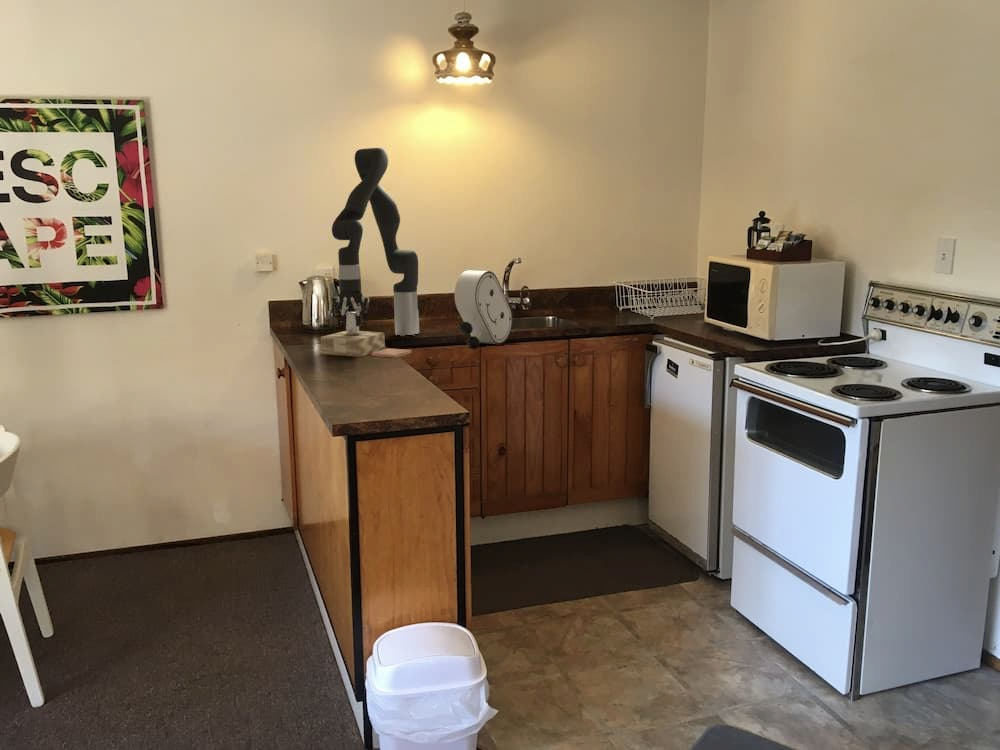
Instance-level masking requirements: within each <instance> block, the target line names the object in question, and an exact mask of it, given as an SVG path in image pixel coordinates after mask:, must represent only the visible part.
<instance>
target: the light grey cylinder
mask: <svg viewBox="0 0 1000 750" xmlns="http://www.w3.org/2000/svg"><path fill="white" fill-rule="evenodd" d="M345 314H346V326H345V329H346V330H345V331H346V332H347V336H358V335H359V331H360V326H357V317H356V316H357V314H356V311H347V312H346V313H345Z"/></svg>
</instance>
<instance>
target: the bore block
mask: <svg viewBox="0 0 1000 750" xmlns="http://www.w3.org/2000/svg"><path fill="white" fill-rule="evenodd" d="M385 340H386V339H385V332H382V331H381V332H379V331H378V332H377V331H363V330H359V335H358V336H347V332H346V330H343V331H339V332H335V333H332V334H327V335H323V336H320V348H321V354H322V355H330V356H331V355H332V356H343V357H344V356H346V357H357V358H360V357H364V356H367V355H369V354H370V355H371V353H373V352H377V351H380V350H383V349H386V342H385Z"/></svg>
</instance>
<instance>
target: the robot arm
mask: <svg viewBox="0 0 1000 750" xmlns="http://www.w3.org/2000/svg"><path fill="white" fill-rule="evenodd" d="M354 164H355V168H356V171H357V173H358V176H359V178H360V180H361V181H359V183H358V184H357V185H356V186H355V187H354V188H353V189H352V190H351V192H350V193H349V195H348V197H347V200H346V203H345V206H344V207H343V209H342V210H341V212H340V213H339V214H338V216H337V217H336V218H335V220H334V221H333V223H332V224H331V225H332V226H331V234H332V236H333V238H334V239H336V240H338V241H348V245H347V246H345V247H343V246H342V247H340V248H339V249H338V251H337V252H338V254H337V255H338V282H339V284H338V285H339V287H338V288H339V295H338V296H332V297H331V301H332V304H333V307H334V310H335V313H336V314H337V315H340V316H341V323H342V325H343V326H344V327H346V314H345V313H346V312H348V309H349V307H353V309H354V310H355V311H354V312H356V314H357V316H356V317H357V326H359V327H361V326H362V325H363V315H364V314H368V310H369V305H370V301H371V297H369V296H365V295H363V294H362V277H361V267H360V254H359V253H360V247H361V242H362V238H363V232H364V229H363V225H362V223H361V221H360V220H362V219H363V217H364V215H365V212H366V210H367V207H368V204H369V203H370V205H371V206H370V207H371V210H372V214H373V216H374V220H375V223H376V225H377V229H378V230H379V235H380V239H381V240H382V244H383V250H384V254H385V259H386V263H387V266H388V268H389V270H390V272H391V273H393V274H396V275H397V274H399V275H403V278H402V280H400V281H399V282H396V283H394V284H393V291H392V292H393V309H394V311H393V313H394V314H393V315H394V333H395V334H396V335H395V336H397V335H400V336H399V337H406V336H405V335H413V336H415V335H414V334H418V333H419V334H420V315H419V313H420V312H419V308H418V306H419V305H418V283H419V259H418V258H419V257H418V254H417V253H416V252H415V251H414V250H411V249H410V250H409V249H408V250H407V249H400V248H399V246H398V244H397V234H398V231H399V228H400V224H401V223H400V222H401V216H400V215H401V214H400V213H399V209H398V205H397V203H396V201H395V200H394V198H393V197H392V196H391V195H390V194H389V193H388V192H387V190H385V189H384V188H383V187H382V186H381V185H380V182H381V180H382V178H383V177H384V175H385V173H386V171H387V168H388V166H389V156H388V153H387V151H386V150H385V149H384V148H383V147H371V148H369V147H368V148H360V149H358V150H356V151H355V153H354ZM340 301H341V302H342V304H340ZM361 301H362V303H363V304H362V306H361V303H360V302H361ZM341 305H342V306H341ZM419 334H418V335H419Z"/></svg>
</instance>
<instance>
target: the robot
mask: <svg viewBox="0 0 1000 750" xmlns="http://www.w3.org/2000/svg"><path fill="white" fill-rule="evenodd" d="M454 303H455V307H456V309H457V312H458V313H459V315H460V317H461V319H462V322H461V323H460V324H459V326H458V329H459V332H460V333H461V334H462V335H464V336H467V335H469V337H468V338H466V339H467V340H466V346H467V347H468V348H470V349H471V350H475V349H478V348H479V347H480V345H481V344H487V345H488V344H489V345H499V346H500V345H502V344H504V343H505V342H506V341H507V340H508V338H509V336H510V334H511V331H512V327H513V311H512V309H511V305H510V303H509V301H508V299H507V297H506V295H505V292H504V290H503V288H502V286H501V283H500V280H499V279H498V277H497V276H496V274H495V273H494V272H493V271H490V270H473V269H469V270H465V271H463V272H461V274H460V276H459V277H458V279H457V281H456V283H455V287H454Z"/></svg>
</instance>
